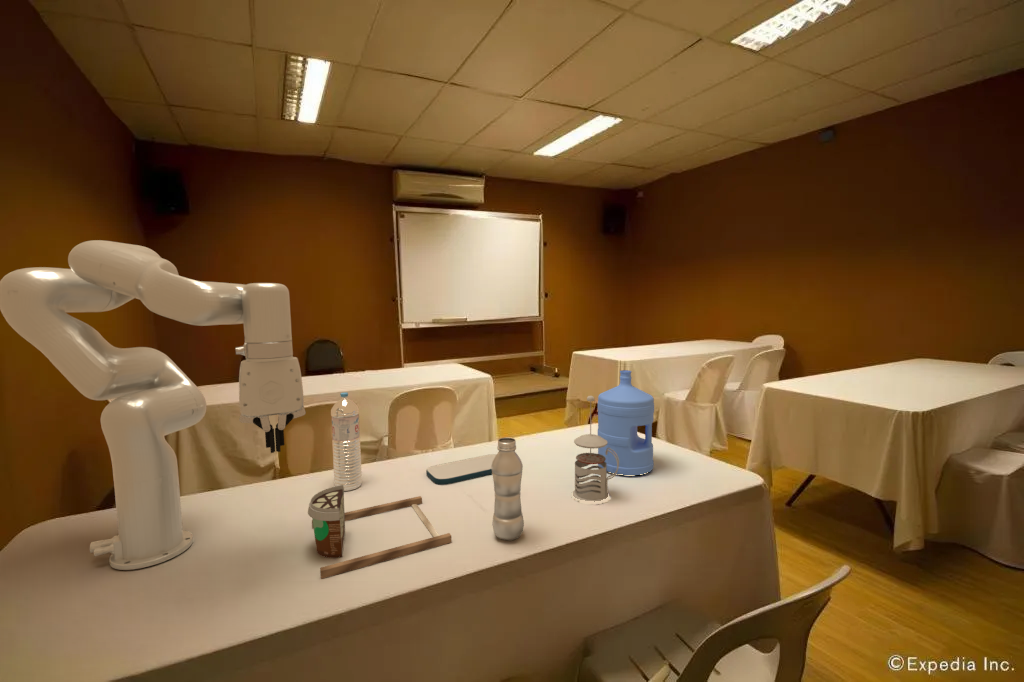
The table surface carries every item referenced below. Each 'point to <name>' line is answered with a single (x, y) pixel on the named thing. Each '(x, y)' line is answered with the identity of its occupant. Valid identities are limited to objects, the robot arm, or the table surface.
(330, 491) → the food container
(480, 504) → the table surface
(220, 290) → the robot arm
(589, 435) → the french press
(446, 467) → the external hard drive
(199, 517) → the table surface
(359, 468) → the water bottle
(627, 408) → the water jug
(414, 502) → the wooden frame
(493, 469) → the plastic bottle
